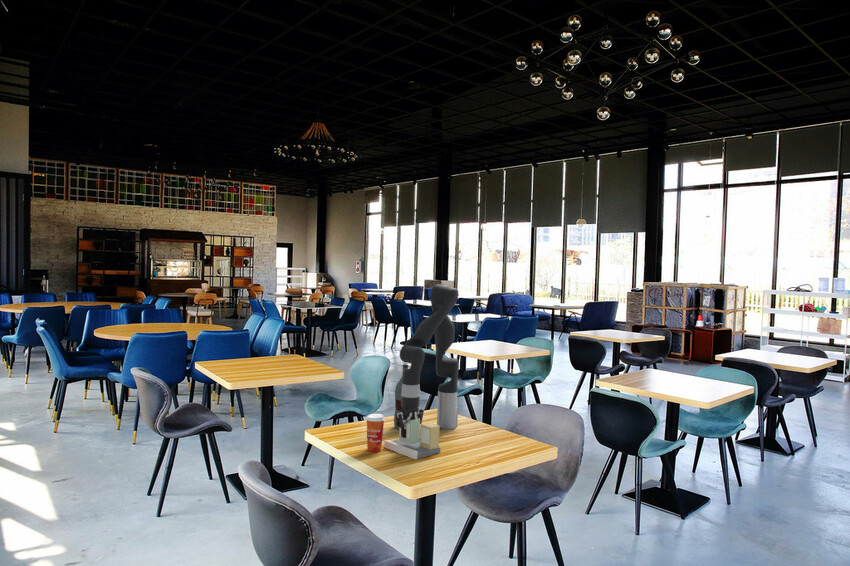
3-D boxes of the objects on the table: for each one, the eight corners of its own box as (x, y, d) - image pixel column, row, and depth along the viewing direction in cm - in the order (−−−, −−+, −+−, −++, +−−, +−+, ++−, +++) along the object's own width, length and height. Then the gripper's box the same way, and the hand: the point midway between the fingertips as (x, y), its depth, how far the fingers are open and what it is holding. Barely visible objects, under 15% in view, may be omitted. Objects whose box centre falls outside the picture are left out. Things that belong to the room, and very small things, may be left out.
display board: (408, 441, 234) (409, 434, 234) (440, 452, 220) (440, 445, 220) (384, 447, 224) (384, 440, 224) (415, 459, 210) (415, 451, 210)
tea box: (407, 438, 224) (408, 416, 224) (419, 441, 219) (420, 419, 219) (398, 440, 220) (399, 418, 220) (410, 444, 215) (410, 421, 215)
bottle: (417, 428, 254) (419, 365, 254) (403, 432, 248) (406, 367, 248) (402, 424, 261) (405, 362, 261) (389, 427, 254) (391, 364, 254)
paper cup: (361, 451, 218) (362, 416, 218) (369, 446, 225) (371, 412, 225) (379, 454, 215) (380, 419, 215) (387, 448, 222) (388, 414, 222)
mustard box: (428, 444, 224) (429, 422, 224) (438, 447, 220) (439, 425, 220) (419, 446, 221) (420, 424, 221) (429, 450, 216) (430, 427, 216)
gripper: (403, 398, 212) (402, 441, 212) (429, 394, 222) (428, 435, 222) (391, 395, 217) (389, 437, 217) (417, 391, 227) (415, 431, 227)
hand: (409, 436), depth 220 cm, fingers closed on tea box, 5 cm apart
